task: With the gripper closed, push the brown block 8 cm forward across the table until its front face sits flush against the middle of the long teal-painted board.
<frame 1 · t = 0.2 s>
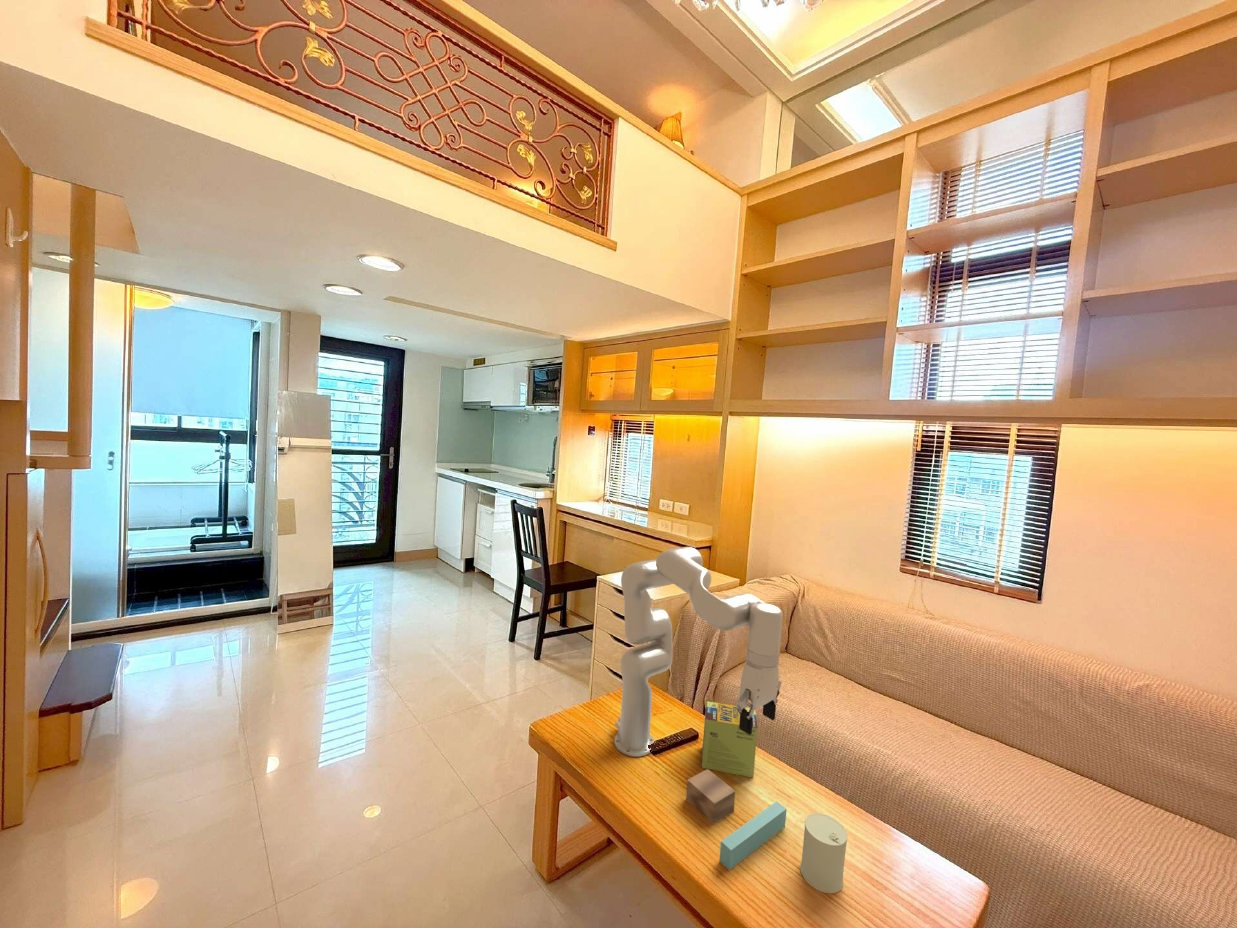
hand: (757, 724, 120), 31 cm above the table, tool pointing down, fingers open, 9 cm apart
brown block: (709, 806, 133), on the table
teal board: (753, 842, 122), on the table
can: (821, 875, 114), on the table
protein box: (727, 762, 151), on the table
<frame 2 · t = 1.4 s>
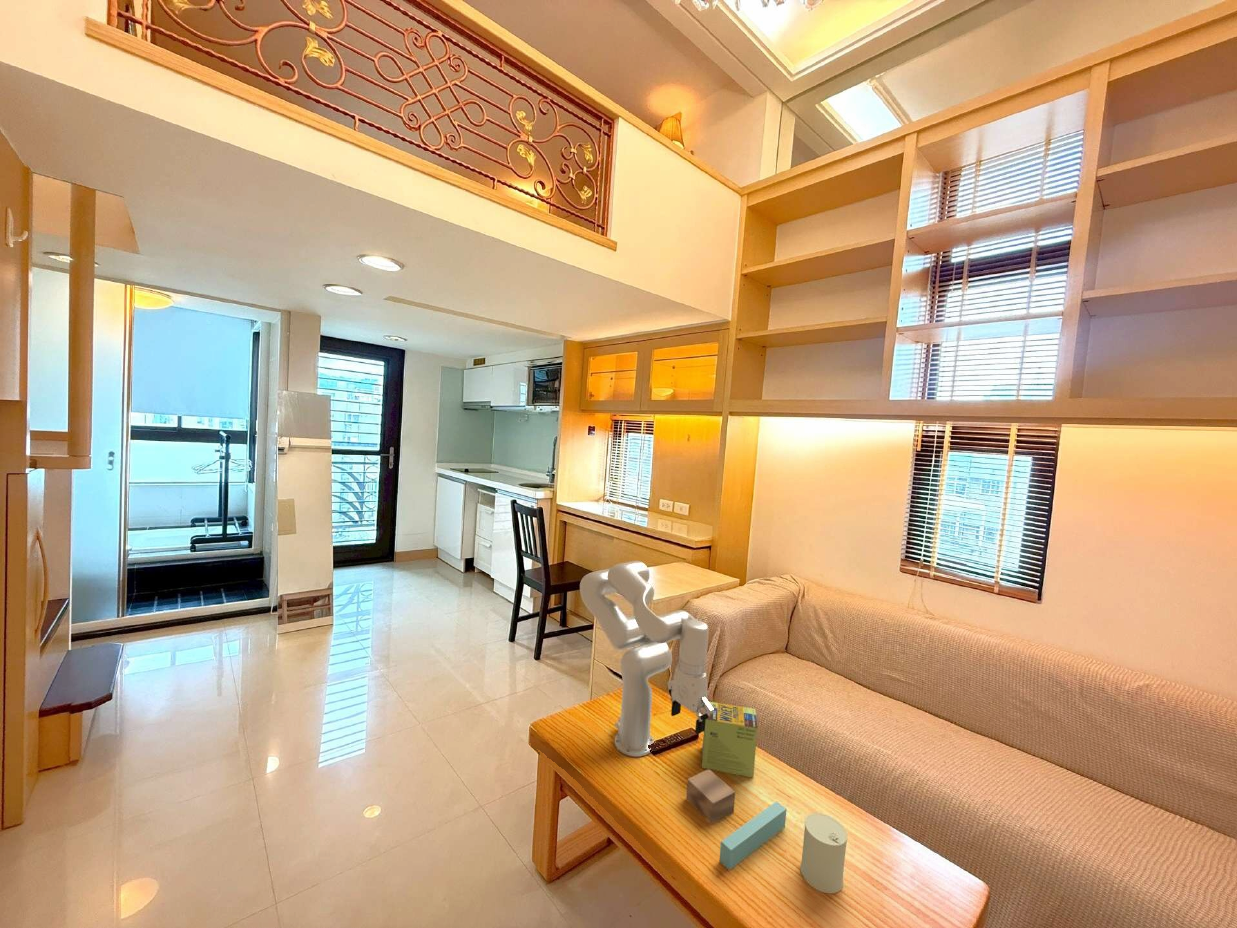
hand: (687, 722, 140), 18 cm above the table, tool pointing down, fingers open, 9 cm apart
nothing on the table moved.
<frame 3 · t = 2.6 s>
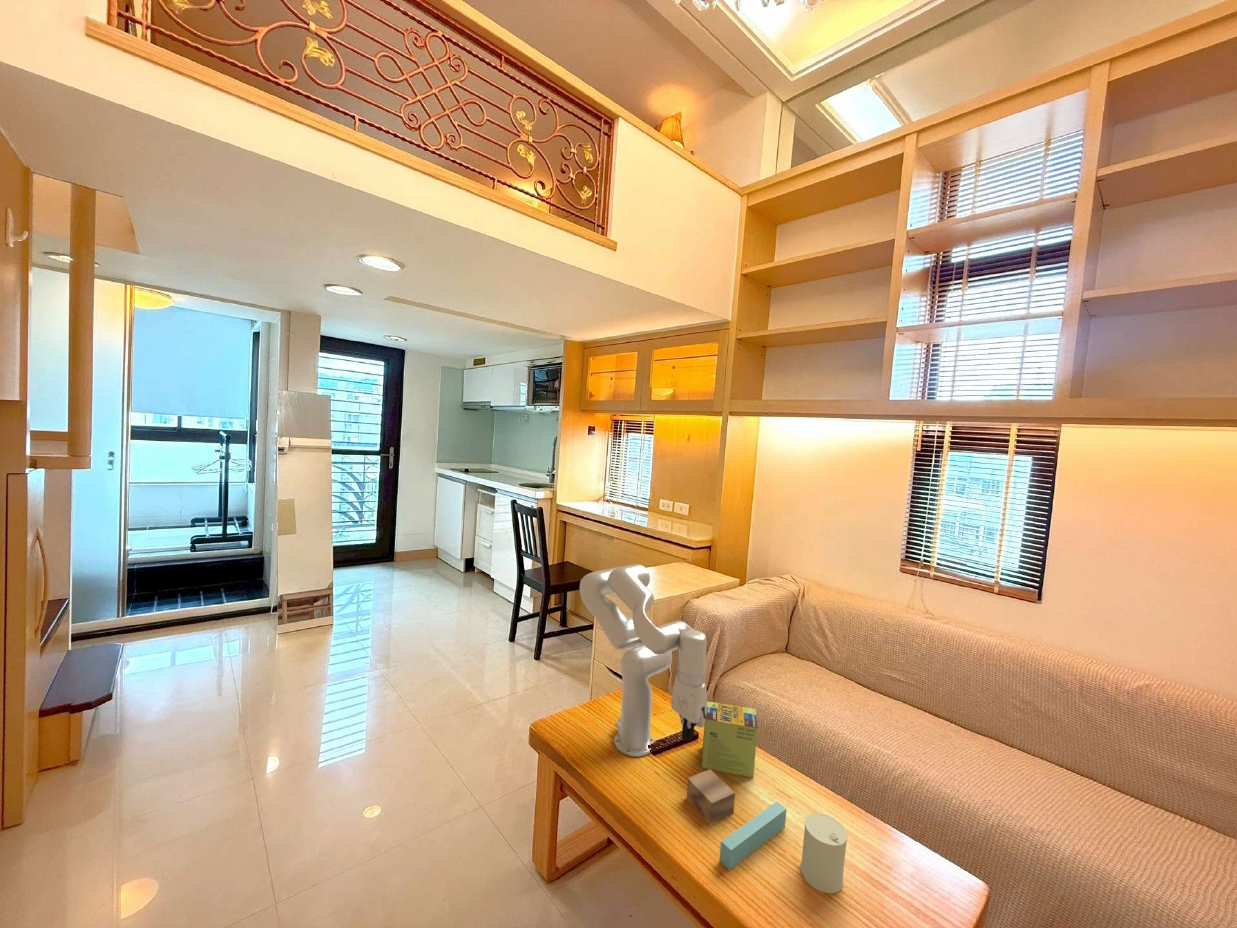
hand: (687, 738, 140), 14 cm above the table, tool pointing down, fingers closed
nothing on the table moved.
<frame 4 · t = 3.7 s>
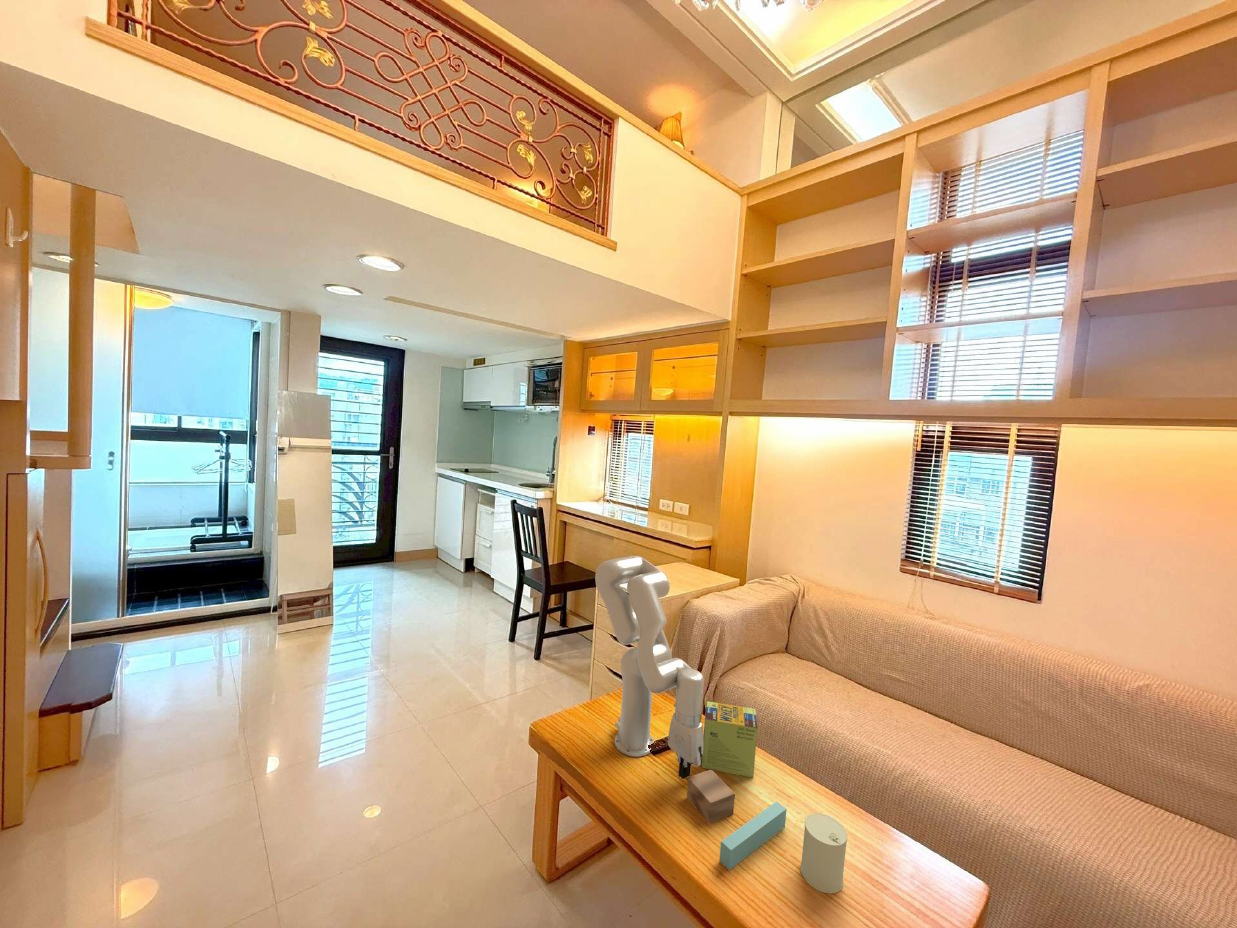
hand: (684, 775, 141), 2 cm above the table, tool pointing down, fingers closed
nothing on the table moved.
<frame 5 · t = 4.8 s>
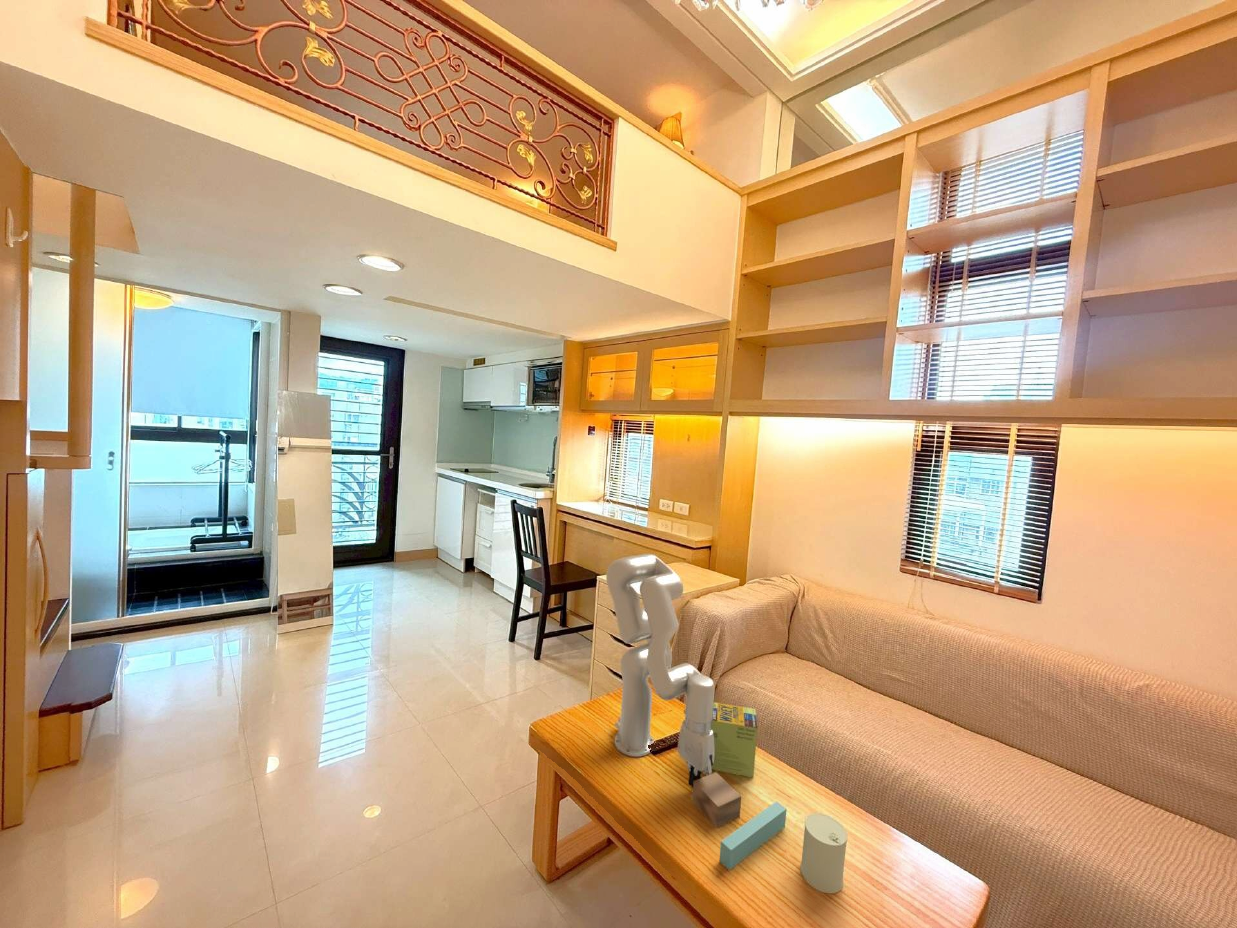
hand: (694, 784, 138), 2 cm above the table, tool pointing down, fingers closed
brown block: (715, 809, 132), on the table, touching gripper
everything else where it was.
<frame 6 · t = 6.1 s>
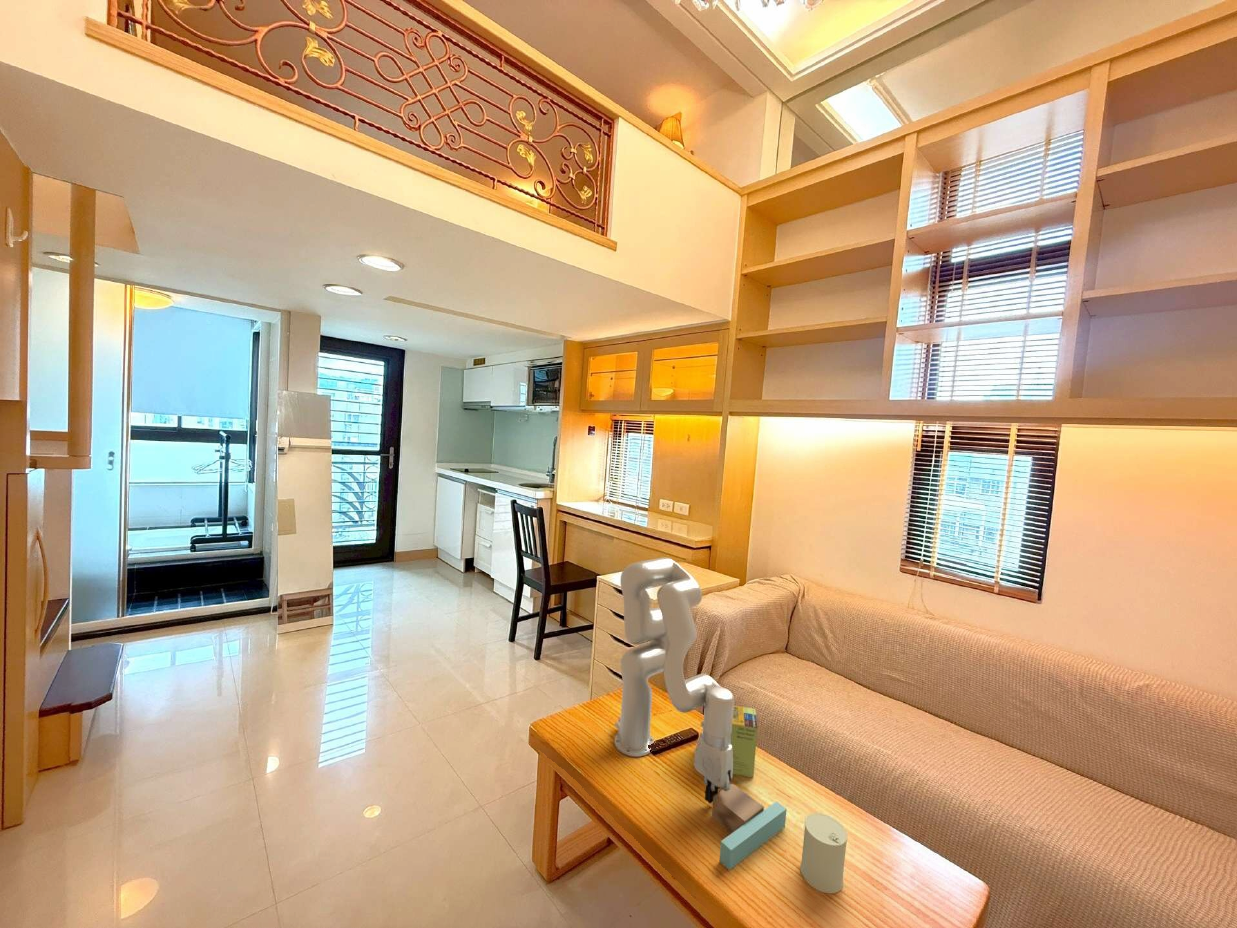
hand: (710, 799, 133), 2 cm above the table, tool pointing down, fingers closed
brown block: (736, 822, 128), on the table, touching gripper, teal board
everything else where it was.
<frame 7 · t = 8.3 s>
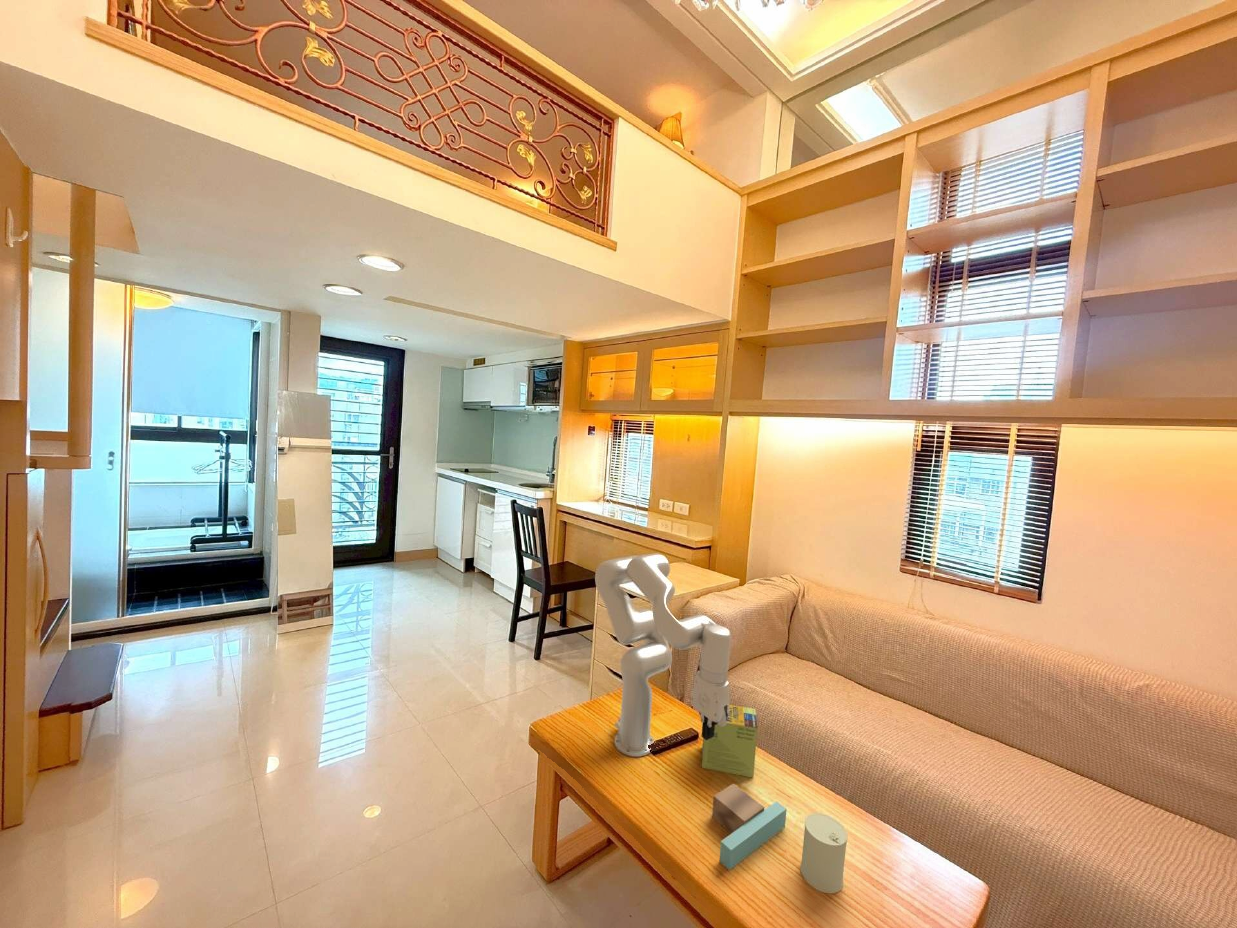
hand: (707, 736, 134), 18 cm above the table, tool pointing down, fingers closed
brown block: (737, 822, 128), on the table
everything else where it was.
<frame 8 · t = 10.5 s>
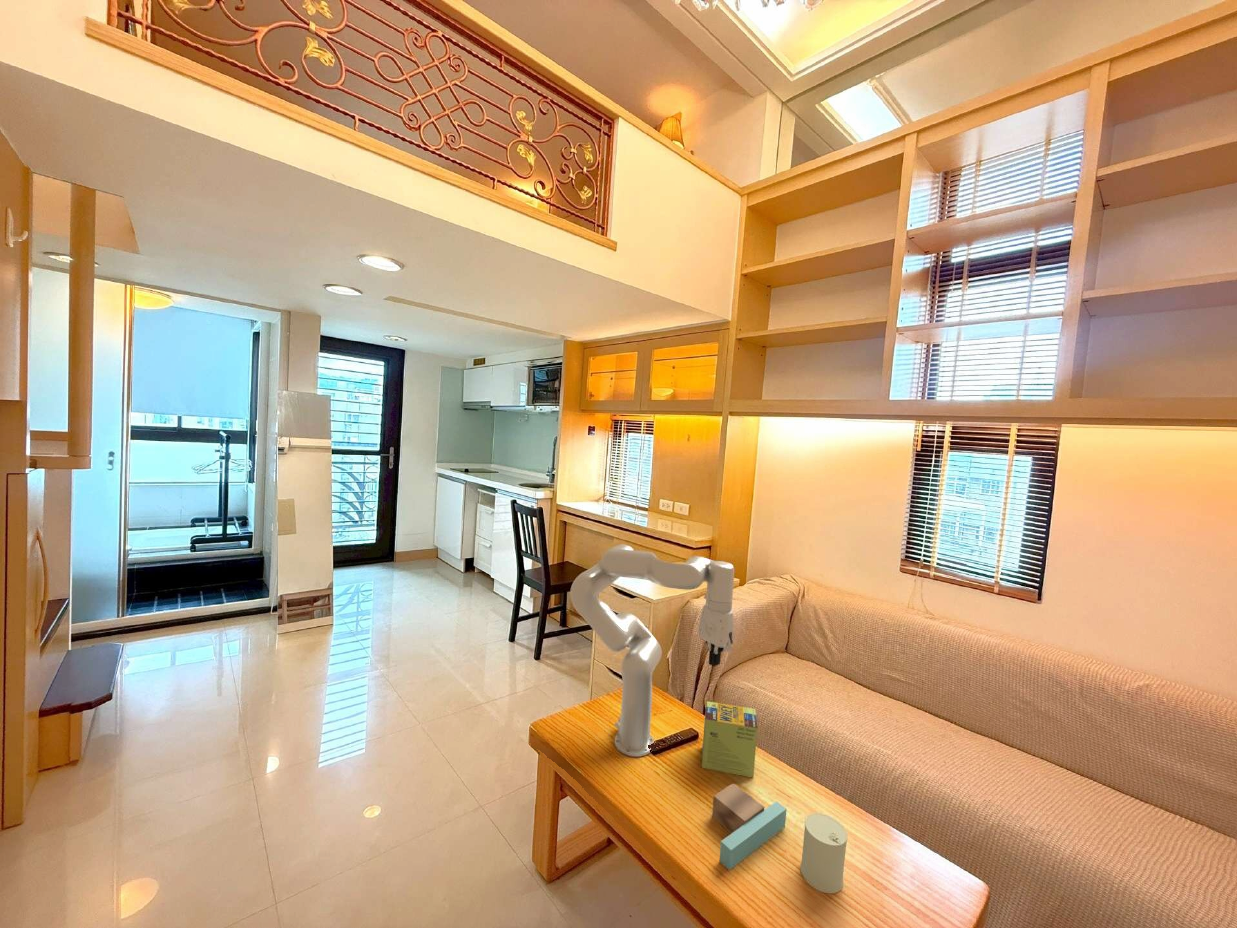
hand: (714, 664, 146), 32 cm above the table, tool pointing down, fingers closed
nothing on the table moved.
at the end: brown block 1.8 cm from the target spot on the table beside the teal board, on the table; brown block tilted 0° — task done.
